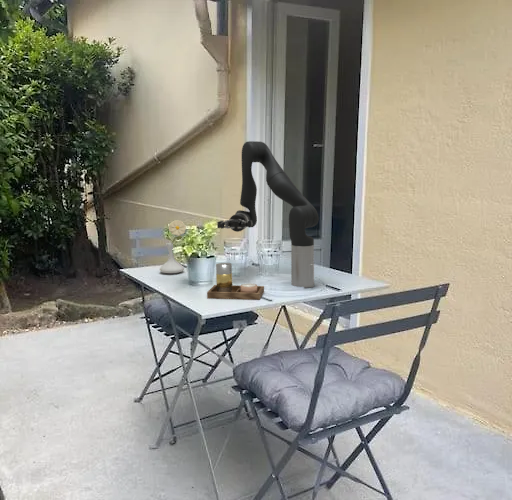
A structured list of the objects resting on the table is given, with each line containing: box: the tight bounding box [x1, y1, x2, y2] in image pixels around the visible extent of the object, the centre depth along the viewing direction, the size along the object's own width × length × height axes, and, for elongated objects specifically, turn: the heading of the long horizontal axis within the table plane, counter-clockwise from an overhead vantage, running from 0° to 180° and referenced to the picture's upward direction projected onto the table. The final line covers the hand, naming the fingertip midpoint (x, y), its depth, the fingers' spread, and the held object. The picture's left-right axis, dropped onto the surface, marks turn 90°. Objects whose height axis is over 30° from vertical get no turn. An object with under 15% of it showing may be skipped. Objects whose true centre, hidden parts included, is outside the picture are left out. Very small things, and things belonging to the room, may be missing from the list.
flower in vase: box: [159, 219, 187, 274], centre depth 254 cm, size 13×11×25 cm
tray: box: [206, 284, 265, 301], centre depth 210 cm, size 20×12×3 cm, turn 81°
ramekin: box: [240, 282, 258, 293], centre depth 209 cm, size 6×6×4 cm
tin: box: [215, 262, 233, 292], centre depth 210 cm, size 6×6×12 cm
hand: (231, 225), depth 222 cm, fingers open, 8 cm apart
